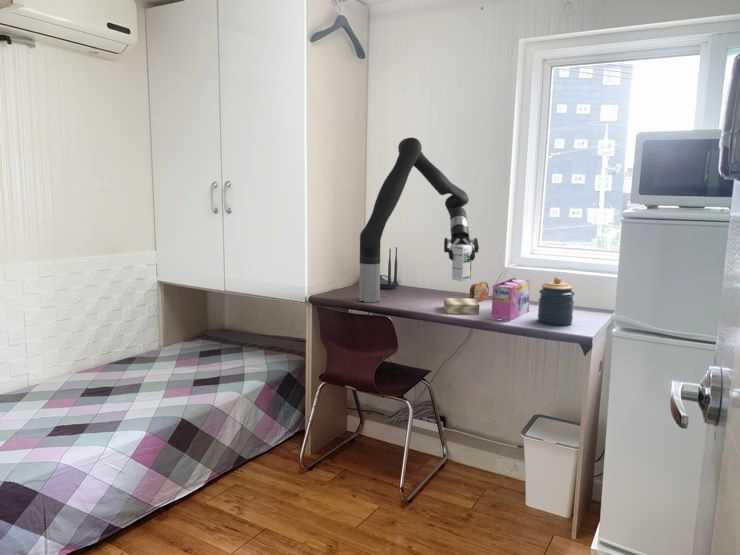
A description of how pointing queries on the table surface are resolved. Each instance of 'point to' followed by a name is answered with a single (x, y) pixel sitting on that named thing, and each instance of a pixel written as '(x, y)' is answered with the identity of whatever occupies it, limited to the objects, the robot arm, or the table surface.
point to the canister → (556, 303)
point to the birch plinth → (461, 306)
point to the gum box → (510, 299)
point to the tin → (479, 291)
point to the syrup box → (461, 262)
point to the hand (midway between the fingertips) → (462, 259)
